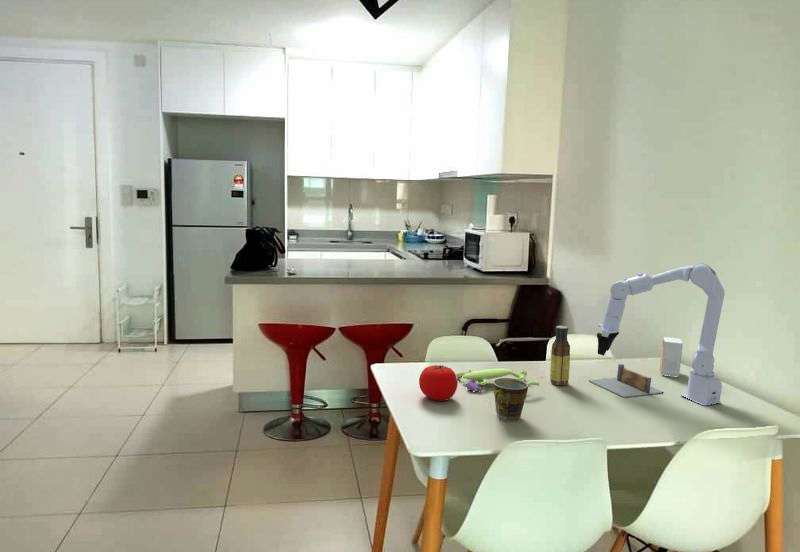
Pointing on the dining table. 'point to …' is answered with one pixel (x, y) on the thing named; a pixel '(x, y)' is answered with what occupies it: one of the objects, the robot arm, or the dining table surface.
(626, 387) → the gate frame
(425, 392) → the tomato
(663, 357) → the small box
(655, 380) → the dining table surface
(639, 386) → the board
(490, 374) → the figurine
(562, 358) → the sauce bottle
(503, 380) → the ceramic cup
